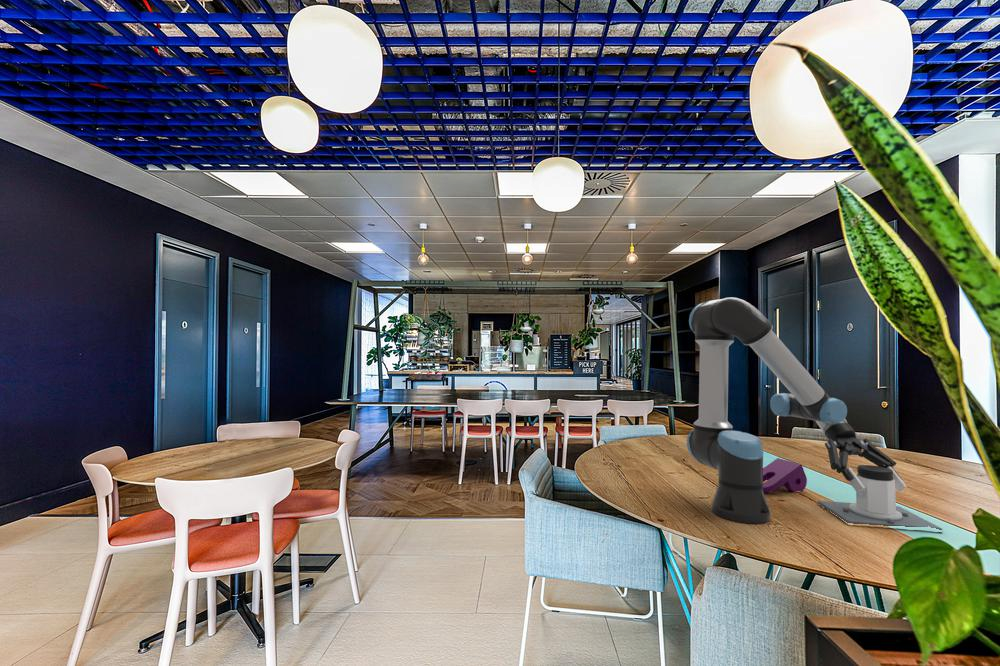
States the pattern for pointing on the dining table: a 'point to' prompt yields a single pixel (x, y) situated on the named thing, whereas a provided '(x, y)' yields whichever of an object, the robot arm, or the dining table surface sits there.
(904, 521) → the board
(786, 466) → the mounting bracket
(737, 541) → the dining table surface
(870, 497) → the jar
